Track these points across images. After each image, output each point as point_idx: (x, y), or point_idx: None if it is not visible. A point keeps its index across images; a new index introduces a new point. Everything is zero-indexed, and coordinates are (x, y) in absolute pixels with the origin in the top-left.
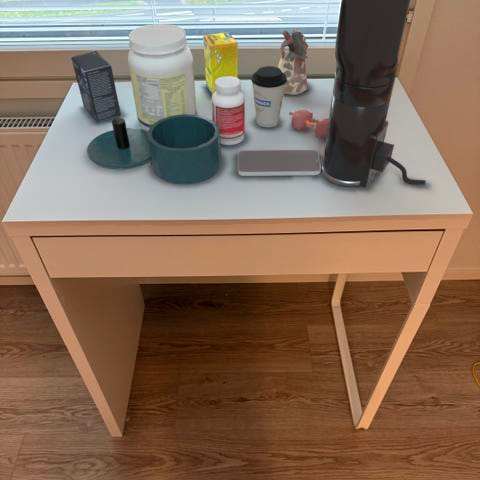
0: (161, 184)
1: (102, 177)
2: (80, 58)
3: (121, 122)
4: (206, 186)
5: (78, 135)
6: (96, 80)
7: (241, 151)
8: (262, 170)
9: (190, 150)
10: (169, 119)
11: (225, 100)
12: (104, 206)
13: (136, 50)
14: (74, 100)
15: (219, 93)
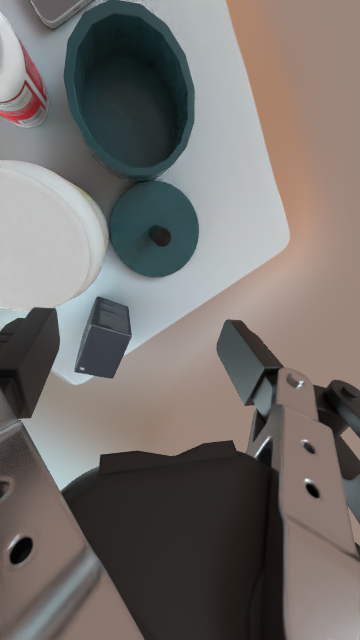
0: None
1: (209, 216)
2: (107, 367)
3: (163, 230)
4: None
5: (159, 302)
6: (118, 324)
7: (44, 17)
8: None
9: (176, 40)
10: (116, 160)
11: (3, 25)
12: (250, 171)
13: (92, 254)
14: None
15: (2, 42)
